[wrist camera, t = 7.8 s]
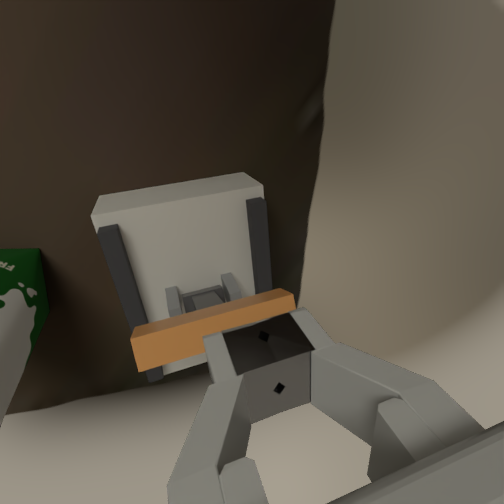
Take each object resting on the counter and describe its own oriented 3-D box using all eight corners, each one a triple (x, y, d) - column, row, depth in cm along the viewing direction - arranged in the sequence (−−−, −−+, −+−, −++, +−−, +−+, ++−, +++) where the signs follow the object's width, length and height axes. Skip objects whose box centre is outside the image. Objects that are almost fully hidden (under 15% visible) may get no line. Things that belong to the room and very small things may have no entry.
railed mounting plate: (99, 227, 24) (96, 233, 23) (260, 196, 27) (266, 201, 26) (148, 372, 31) (149, 382, 30) (271, 334, 34) (276, 343, 33)
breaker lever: (144, 301, 27) (130, 339, 17) (251, 274, 30) (293, 294, 20) (150, 322, 28) (138, 372, 17) (255, 294, 30) (298, 323, 20)
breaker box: (99, 195, 29) (83, 232, 20) (243, 172, 32) (278, 195, 24) (146, 341, 37) (149, 408, 29) (257, 310, 40) (287, 362, 32)
